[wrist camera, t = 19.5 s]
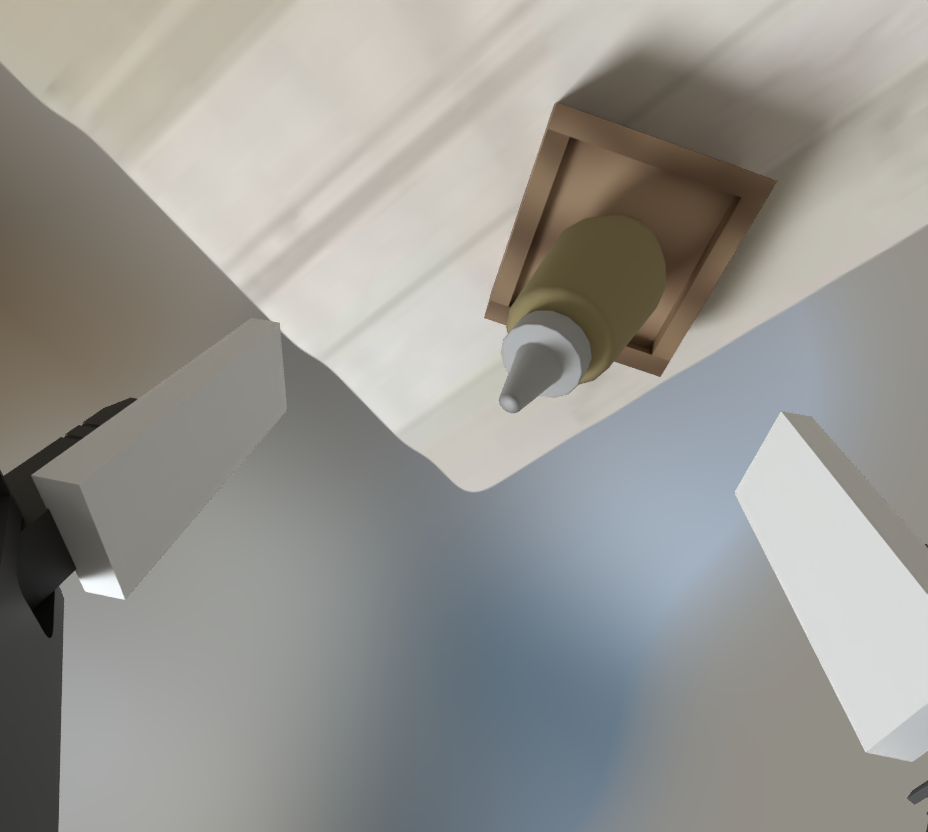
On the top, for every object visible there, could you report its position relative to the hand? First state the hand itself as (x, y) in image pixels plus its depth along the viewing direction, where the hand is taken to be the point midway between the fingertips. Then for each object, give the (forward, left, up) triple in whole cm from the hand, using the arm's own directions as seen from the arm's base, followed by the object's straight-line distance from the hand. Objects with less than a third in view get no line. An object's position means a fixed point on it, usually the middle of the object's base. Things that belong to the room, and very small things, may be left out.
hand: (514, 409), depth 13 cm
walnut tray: (-1, +6, -33) cm, 33 cm away
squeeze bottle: (-1, +7, -26) cm, 26 cm away
